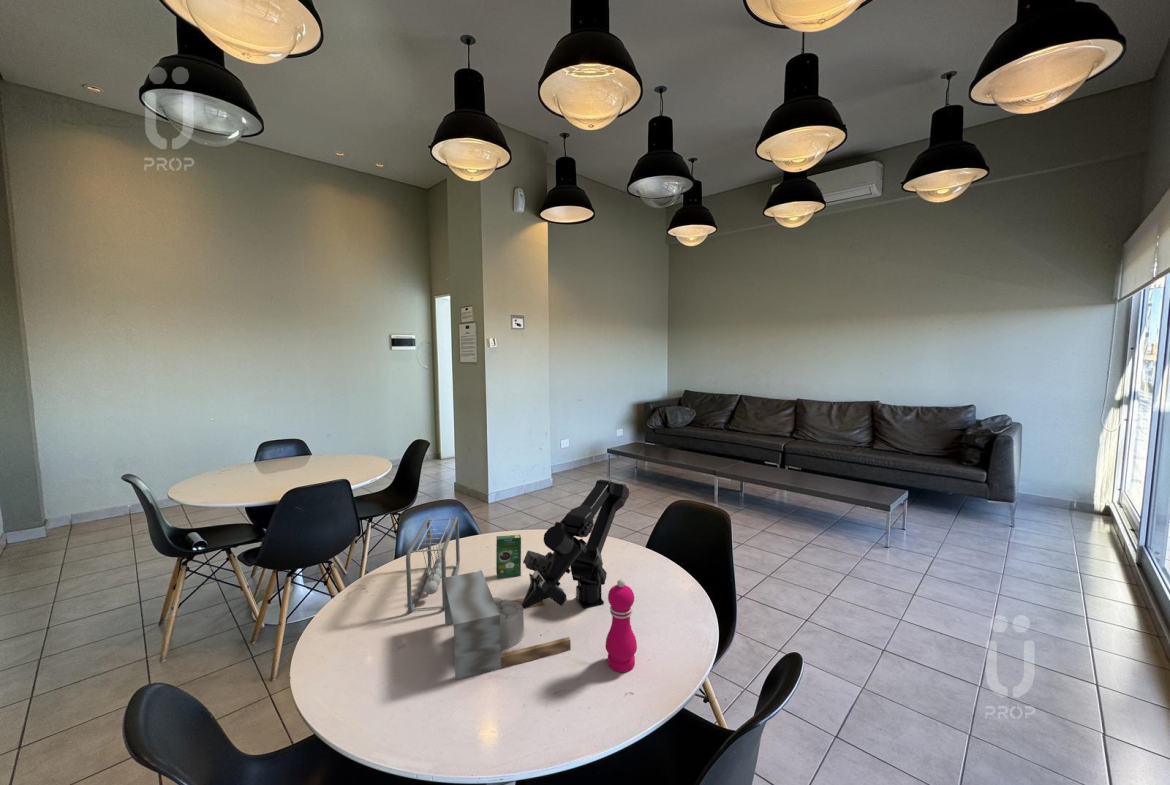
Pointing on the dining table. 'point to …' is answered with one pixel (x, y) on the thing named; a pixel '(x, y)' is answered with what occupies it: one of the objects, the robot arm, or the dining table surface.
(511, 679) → the dining table surface
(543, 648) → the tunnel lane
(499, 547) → the coffee box
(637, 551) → the dining table surface
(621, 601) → the pepper mill
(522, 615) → the grey animal paw
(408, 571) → the newton's cradle
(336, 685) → the dining table surface
